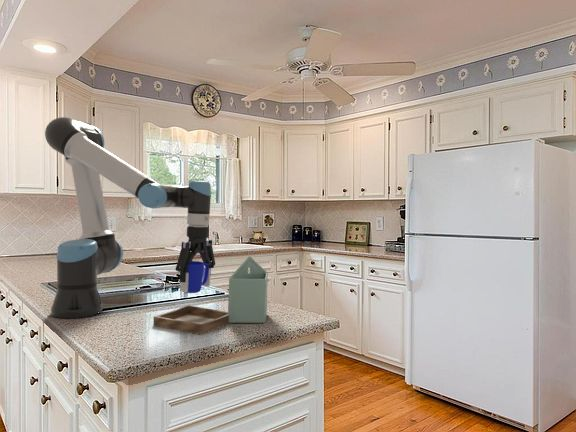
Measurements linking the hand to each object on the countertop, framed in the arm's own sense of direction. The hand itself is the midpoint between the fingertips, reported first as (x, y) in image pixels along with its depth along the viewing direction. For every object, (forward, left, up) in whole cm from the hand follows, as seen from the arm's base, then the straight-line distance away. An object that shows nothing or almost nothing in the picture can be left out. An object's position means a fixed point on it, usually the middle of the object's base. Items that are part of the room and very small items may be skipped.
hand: (195, 288), depth 152 cm
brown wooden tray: (+12, -15, -7) cm, 20 cm away
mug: (0, 0, -1) cm, 1 cm away
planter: (+26, -3, -7) cm, 27 cm away
